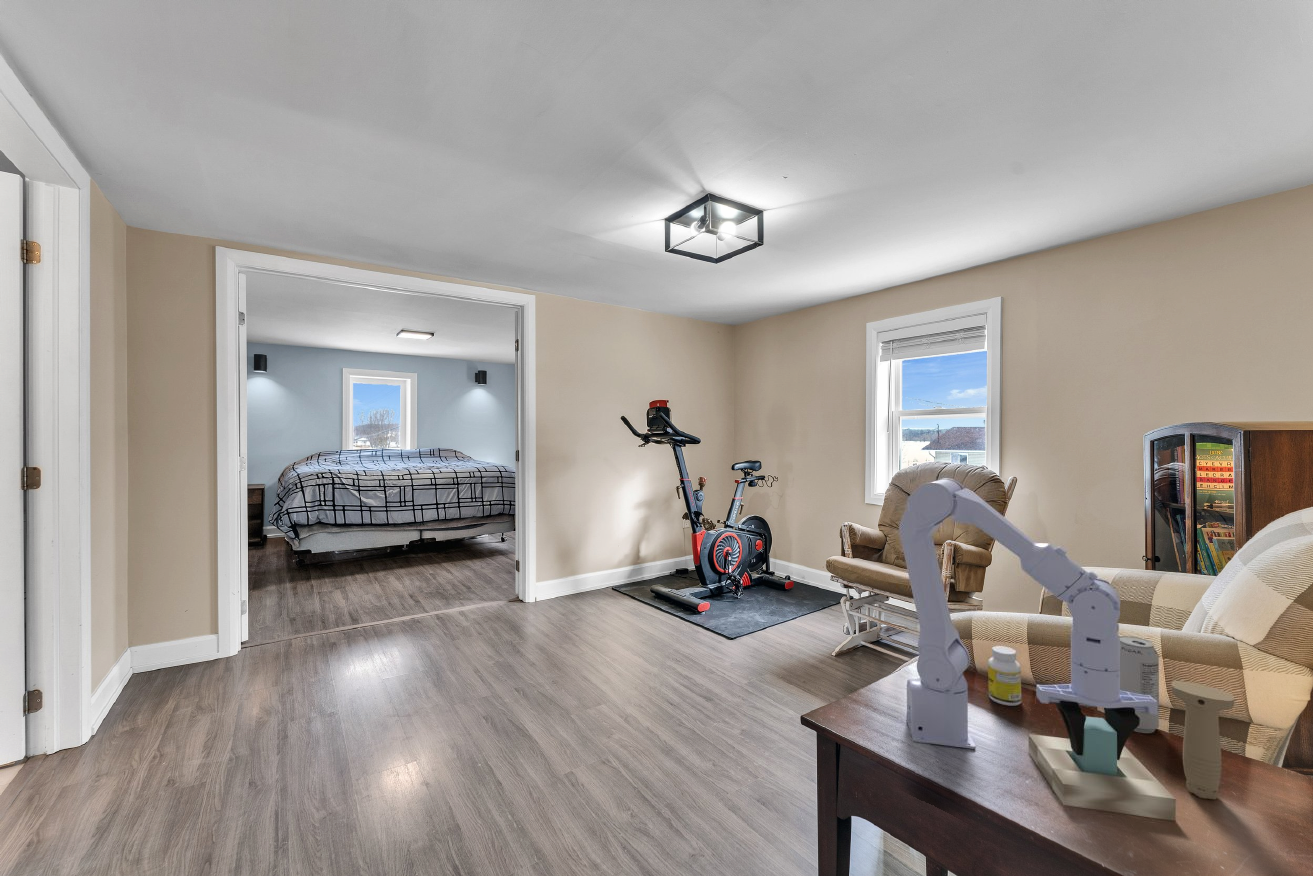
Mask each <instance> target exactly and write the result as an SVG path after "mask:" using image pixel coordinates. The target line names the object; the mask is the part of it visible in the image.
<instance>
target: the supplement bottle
mask: <svg viewBox="0 0 1313 876" xmlns="http://www.w3.org/2000/svg"><path fill="white" fill-rule="evenodd" d="M991 656H992V657H990V658H989V659H988V661H987V662H988V663H987V672H988V675H987V677H988V678H987V680H988V681H987V683H988V684H987V685H988V697H989V698H990V699H991V700H992V701H993V702H995V703H997V704H1001V705H1004V706H1009V707H1011V706H1012V707H1013V706H1018V705H1020V704H1021V703H1022V671H1021V670H1022V669H1021V665H1020V663H1019V662H1018V661H1016V660H1017V651H1016V650H1015V649H1014V648H1011V647H1008V646H1003V645H996V646H995V645H994V646H993V647H991Z"/></svg>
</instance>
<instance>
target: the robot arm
mask: <svg viewBox="0 0 1313 876" xmlns="http://www.w3.org/2000/svg"><path fill="white" fill-rule="evenodd" d="M951 516H952V518H951V520H950V521H951V522H954V523H961V524H962V523H963V524H970V525H974V526H976V527H977V528H979V529H980V530H981V531H982V532H984V533H985V534H986V535H988V536H990V537H991V538H992V539H993V540H995V541H996V542H998V543H999V544H1001V546H1003V547H1004V548H1006V549H1007V550H1009V551H1010V553H1013V554H1014V555H1016V556H1017V558H1019V560H1020V566H1021V570H1022V571H1023V572H1024V573H1026V574H1027V575H1028V576H1030V577H1031V578H1032V579H1034V581H1036V582H1037V583H1038V584H1039V585H1040V586H1042V587H1043V588H1044V589H1046V590H1047V591H1049V592H1050V594H1051V595H1053V596H1054V597H1056V598H1057V599H1058V600H1060V601H1063V602H1065V603H1066V604H1067V608H1068V609H1067V610H1068V611H1069V613H1070V615H1071V616H1072V627H1071V629H1070V683H1065V684H1063V683H1061V684H1036V691H1035V693H1036V694H1035V695H1036V698H1037V700H1038V701H1039V702H1040V704H1050V703H1054V704H1055V706H1056V709H1058V712H1059V713H1060V714H1059V715H1060V716H1061V718H1062V720H1063V723H1064V725H1065V728H1066V731H1067V735H1068V739H1070V743H1071V748H1072V750H1073V751H1074V752H1075V753H1076V755H1079V756H1082V755H1083V730H1084V725H1085V721H1086V717H1087V716H1086V715H1085V714H1084V713H1083V712H1082V708H1081V707H1080V706H1087V707H1089V706H1090V707H1097V708H1103V710H1104V711H1103V712H1104V716H1105V718H1104V720H1105V721H1106V722H1107V723H1108V724H1109V725H1110V726H1111V727H1112V728H1113V729H1114V730H1115V731H1116V732H1117V760H1120V756H1121V753H1122V750H1123V747H1124V746H1125V744H1126V743H1127V741H1128V739H1129V737H1130V736H1131V734H1132V733H1133V732H1135V731H1134V730H1135V729H1136V728H1137V727H1138V726H1139V724H1140V718H1139V717H1138V716H1137V715H1136V714H1135V710H1136V711H1146V712H1147V713H1149V714H1155V715H1157V701H1156V700H1155V699H1153V698H1152V697H1151V696H1150V695H1142V694H1136V693H1131V692H1126V691H1121V690H1120V637H1121V636H1120V635H1119V634H1118V633H1119V631H1120V624H1119V623H1118V621H1119V619H1120V616H1121V611H1120V609H1121V598H1120V595H1119V593H1118V591H1117V590H1116V588H1114V587H1113V585H1111V583H1110V582H1109V581H1108V580H1105V579H1103V578H1099V576H1098V575H1097V574H1096V573H1095V572H1094V571H1092V570H1091V571H1090V572H1089V571H1087V570H1086V569H1084V568H1083V567H1082V566H1081V565H1079V564H1077V563H1076V562H1075V561H1074V560H1072V559H1071V558H1070V557H1069V556H1067V553H1068V551H1067V550H1066V549H1065V548H1064V547H1062V546H1060V545H1058V546H1057V547H1055V546H1054V545H1052V544H1051V543H1049V542H1035V541H1034V540H1033V539H1031V538H1030V536H1028V535H1026V533H1024V531H1021V530H1020V529H1019V528H1018V527H1017V526H1016V525H1014V524H1013V523H1012V522H1010V521H1009V519H1007V518H1006V517H1005V516H1003V515H1002V514H1001V513H1000V512H998V511H997V510H996V509H995V508H994V507H992V506H991V505H990V504H989V503H987V502H986V501H985V500H984V499H982V498H981V497H980V496H979V495H977V494H976V493H975V492H974V491H973V490H971V489H969V488H968V487H965V488H964V486H963V485H962V484H961V483H960V482H958V481H957V480H955V479H953V478H948V477H942V478H939V479H936V480H935V481H932V482H931V481H930V482H926V483H922V484H921V485H919V486H918V487H917V488H916V489H915V490H913V492H912V493H910V495H909V496H908V497H907V505H906V507H905V509H904V513H903V515H902V517H901V520H900V524H899V526H898V533H899V537H900V542H901V545H902V547H901V548H902V551H903V556H904V561H905V564H906V569H907V573H908V574H907V575H908V578H909V582H910V588H911V594H912V597H913V602H914V606H915V609H916V616H917V620H918V624H919V629H920V630H919V633H918V634H919V635H918V641H917V648H918V659H917V662H916V669H917V674H918V676H919V678H915V679H914V678H913V679H911V678H910V679H907V681H906V721H907V724H908V728H909V731H910V734H911V737H912V740H913V742H916V743H924V744H932V745H938V746H939V745H940V746H948V747H956V748H965V749H973V750H975V749H976V747H977V746H976V744H975V742H974V740H973V738H972V736H971V734H970V732H969V730H968V729H969V721H968V719H969V717H968V716H969V714H968V713H969V710H968V706H969V705H968V703H969V702H968V698H969V697H968V694H969V693H968V690H969V689H968V682H967V680H966V678H965V676H964V672H965V671H966V670H967V669H968V667H969V666H970V663H971V656H970V653H969V650H968V649H967V648H966V646H965V644H963V642H962V640H961V638H960V634H959V631H958V629H957V628H956V627H955V625H954V624H953V622H952V618H951V614H950V608H949V604H948V600H947V596H946V595H947V594H946V592H945V588H944V587H945V586H944V581H943V579H942V578H943V577H942V573H941V569H940V564H939V559H938V556H937V555H938V554H937V551H936V547H935V546H936V545H935V542H934V538H933V534H934V533H935V532H936V530H937V529H938V528H939V527H940V526H941V525H942V523H943V522H944V521H945V520H946V519H948V518H949V517H951ZM1085 716H1086V717H1085Z"/></svg>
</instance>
